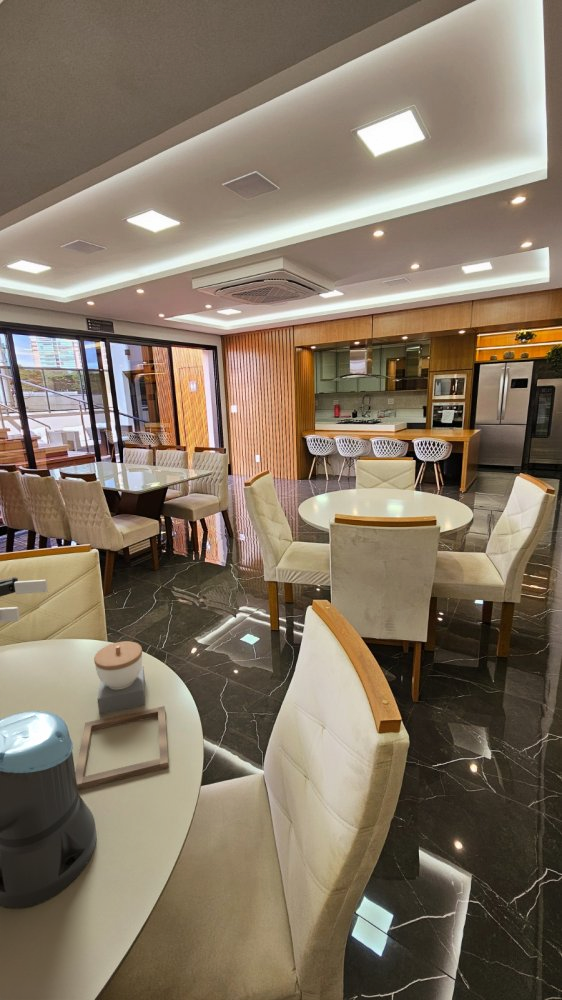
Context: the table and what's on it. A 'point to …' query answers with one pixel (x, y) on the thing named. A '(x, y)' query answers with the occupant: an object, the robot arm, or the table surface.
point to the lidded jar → (119, 664)
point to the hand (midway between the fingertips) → (33, 598)
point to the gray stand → (122, 696)
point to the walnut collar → (128, 770)
